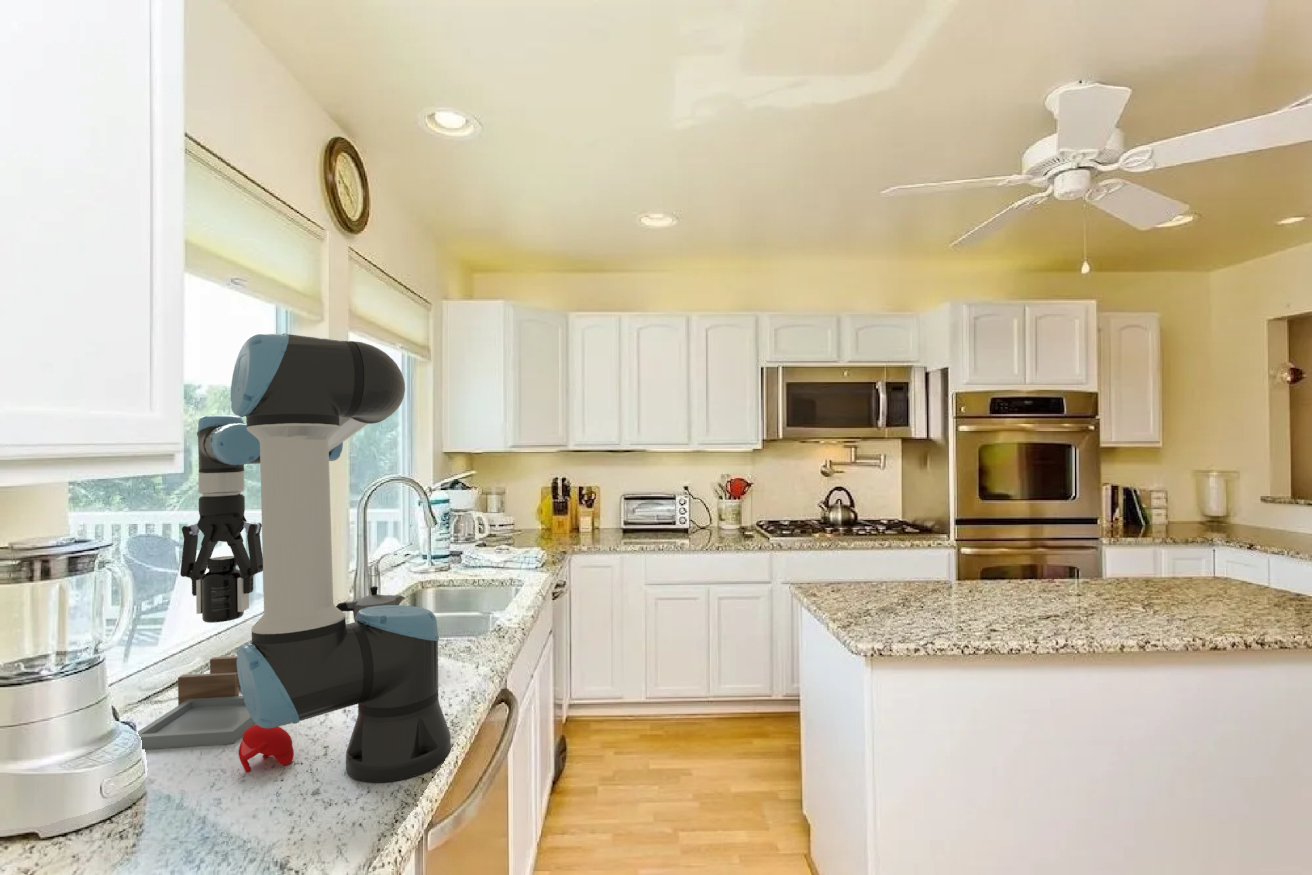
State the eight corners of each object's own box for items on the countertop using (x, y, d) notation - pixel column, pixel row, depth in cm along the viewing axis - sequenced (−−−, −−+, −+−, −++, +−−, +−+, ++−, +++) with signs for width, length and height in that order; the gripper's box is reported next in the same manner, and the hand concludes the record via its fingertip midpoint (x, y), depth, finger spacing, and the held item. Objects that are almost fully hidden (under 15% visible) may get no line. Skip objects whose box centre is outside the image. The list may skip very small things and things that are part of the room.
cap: (221, 755, 94) (252, 736, 94) (243, 725, 100) (272, 706, 99) (260, 788, 97) (291, 769, 96) (279, 757, 102) (308, 739, 102)
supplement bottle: (252, 614, 128) (251, 554, 128) (226, 623, 122) (225, 560, 122) (220, 613, 129) (220, 554, 129) (192, 623, 122) (192, 560, 122)
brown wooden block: (235, 706, 120) (235, 674, 120) (178, 709, 119) (178, 677, 119) (265, 683, 132) (265, 654, 132) (213, 686, 130) (213, 657, 130)
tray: (233, 743, 105) (232, 731, 105) (127, 750, 103) (127, 737, 103) (279, 704, 121) (279, 693, 121) (188, 709, 119) (188, 698, 119)
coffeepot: (396, 656, 148) (395, 578, 148) (413, 666, 141) (412, 584, 141) (324, 673, 137) (323, 590, 137) (339, 685, 130) (338, 597, 130)
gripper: (283, 491, 130) (285, 603, 130) (180, 494, 128) (181, 608, 128) (265, 494, 123) (266, 613, 123) (155, 497, 121) (156, 618, 120)
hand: (223, 610), depth 125 cm, fingers closed on supplement bottle, 7 cm apart
